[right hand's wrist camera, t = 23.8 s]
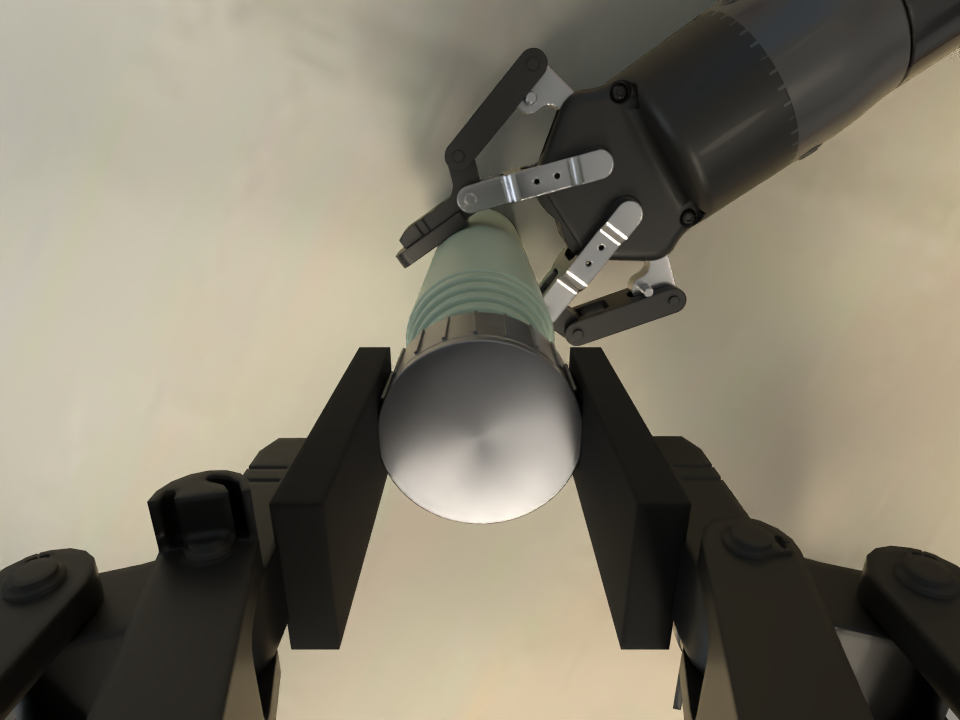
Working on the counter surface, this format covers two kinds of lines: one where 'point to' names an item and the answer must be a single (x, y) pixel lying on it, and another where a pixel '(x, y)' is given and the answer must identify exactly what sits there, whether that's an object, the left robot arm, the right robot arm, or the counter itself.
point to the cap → (480, 419)
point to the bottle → (481, 278)
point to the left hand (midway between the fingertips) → (436, 302)
